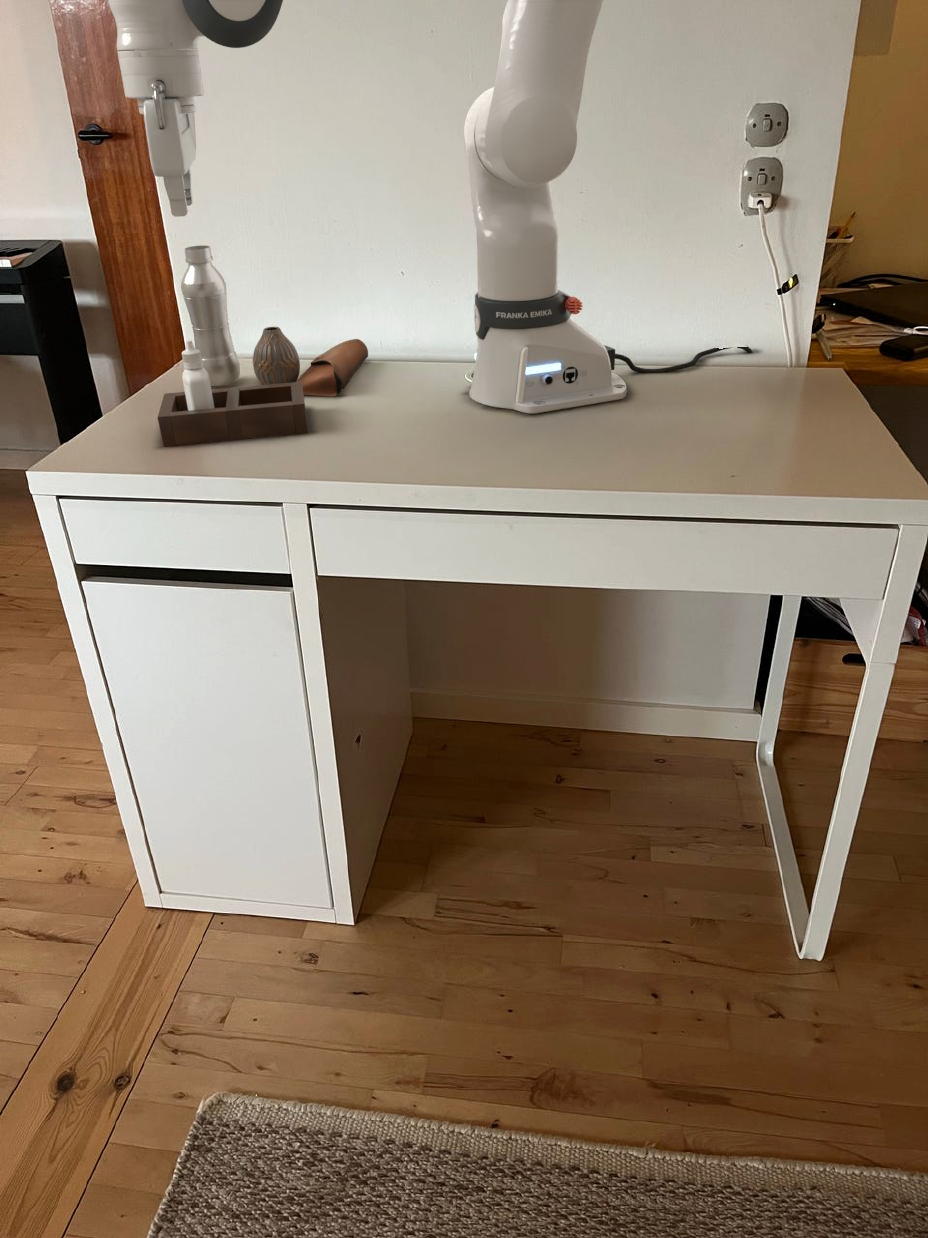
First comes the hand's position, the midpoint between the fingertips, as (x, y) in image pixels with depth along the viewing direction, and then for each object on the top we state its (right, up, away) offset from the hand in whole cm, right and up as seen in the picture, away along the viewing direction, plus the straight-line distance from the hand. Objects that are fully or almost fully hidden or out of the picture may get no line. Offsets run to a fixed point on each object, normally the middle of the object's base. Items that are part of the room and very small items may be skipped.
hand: (183, 210), depth 116 cm
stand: (+3, -24, +14) cm, 28 cm away
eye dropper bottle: (-1, -24, +13) cm, 28 cm away
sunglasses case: (+14, -13, +32) cm, 37 cm away
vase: (+6, -15, +29) cm, 33 cm away
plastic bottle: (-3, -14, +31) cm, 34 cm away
